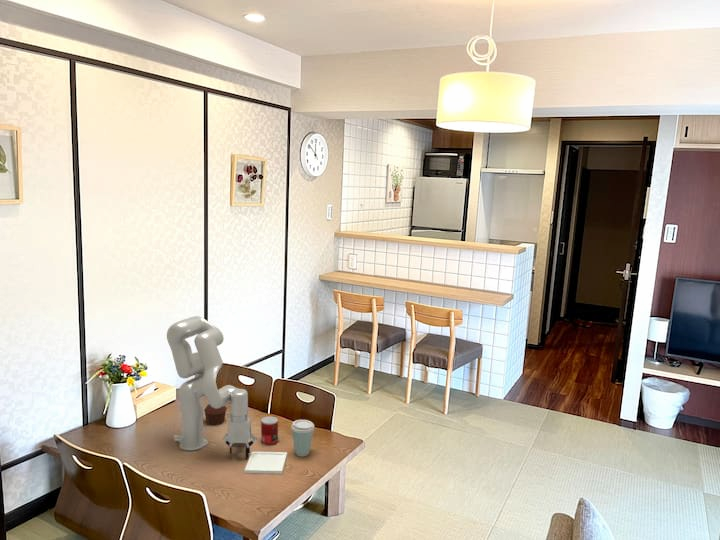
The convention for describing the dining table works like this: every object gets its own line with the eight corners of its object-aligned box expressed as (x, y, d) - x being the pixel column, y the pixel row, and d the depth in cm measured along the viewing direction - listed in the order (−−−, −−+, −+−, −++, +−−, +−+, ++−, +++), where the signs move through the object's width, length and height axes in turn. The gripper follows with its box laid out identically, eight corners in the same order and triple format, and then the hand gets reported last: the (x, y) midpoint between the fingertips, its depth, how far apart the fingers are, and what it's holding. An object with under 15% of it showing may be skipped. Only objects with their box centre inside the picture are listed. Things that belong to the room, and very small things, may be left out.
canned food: (274, 446, 255) (274, 424, 254) (258, 444, 257) (258, 422, 255) (280, 438, 263) (280, 417, 261) (264, 436, 264) (264, 415, 263)
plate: (244, 473, 231) (244, 470, 231) (251, 454, 247) (251, 451, 247) (282, 474, 231) (282, 470, 231) (287, 455, 247) (286, 452, 247)
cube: (231, 459, 242) (231, 447, 241) (234, 453, 248) (234, 441, 247) (245, 460, 242) (245, 447, 241) (247, 453, 248) (247, 441, 247)
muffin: (202, 418, 282) (202, 400, 281) (224, 415, 287) (224, 397, 285) (206, 428, 272) (206, 409, 270) (228, 424, 276) (228, 406, 275)
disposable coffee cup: (304, 445, 257) (304, 415, 254) (319, 453, 249) (319, 423, 247) (286, 452, 249) (286, 422, 247) (300, 461, 242) (301, 430, 239)
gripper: (217, 420, 238) (218, 458, 241) (257, 421, 238) (257, 459, 241) (222, 413, 246) (222, 450, 249) (260, 413, 246) (260, 450, 249)
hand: (239, 454), depth 245 cm, fingers closed on cube, 6 cm apart
